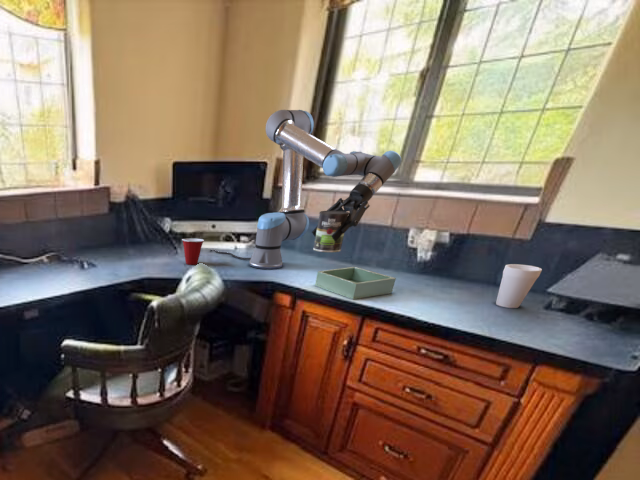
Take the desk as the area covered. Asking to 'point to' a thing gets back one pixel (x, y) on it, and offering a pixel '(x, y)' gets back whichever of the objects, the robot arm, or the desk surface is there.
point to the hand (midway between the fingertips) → (323, 236)
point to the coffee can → (329, 231)
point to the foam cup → (516, 284)
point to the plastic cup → (192, 250)
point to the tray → (355, 282)
